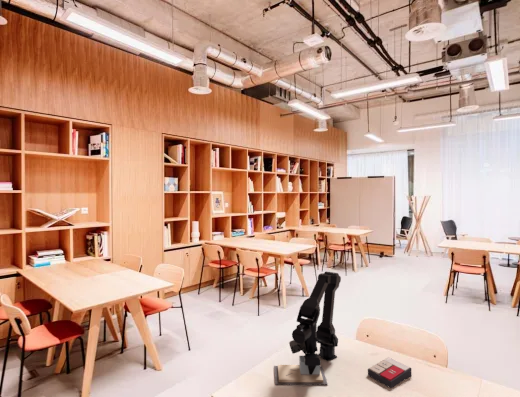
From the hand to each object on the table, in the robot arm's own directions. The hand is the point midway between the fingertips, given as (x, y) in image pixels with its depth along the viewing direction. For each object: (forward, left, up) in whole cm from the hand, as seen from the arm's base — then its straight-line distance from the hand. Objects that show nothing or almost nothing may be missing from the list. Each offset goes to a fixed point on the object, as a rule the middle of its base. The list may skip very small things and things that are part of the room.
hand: (309, 370), depth 133 cm
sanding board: (+4, -2, -2) cm, 5 cm away
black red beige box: (-29, +17, -3) cm, 34 cm away
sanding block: (0, 0, 0) cm, 1 cm away
